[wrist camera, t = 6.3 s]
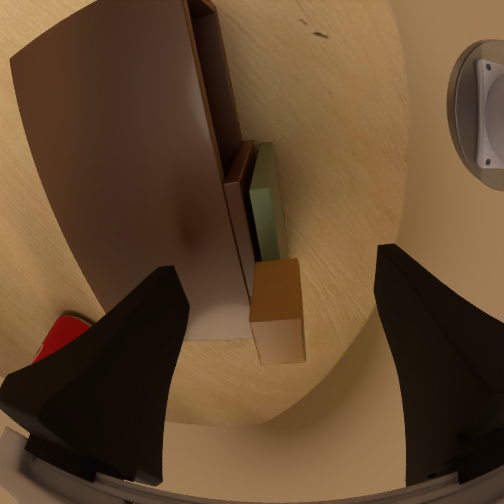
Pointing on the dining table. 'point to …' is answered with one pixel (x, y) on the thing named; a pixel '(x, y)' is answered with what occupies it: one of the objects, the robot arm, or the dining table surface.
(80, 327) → the beverage can
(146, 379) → the robot arm
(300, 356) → the green drawer
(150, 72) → the cabinet
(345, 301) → the dining table surface
